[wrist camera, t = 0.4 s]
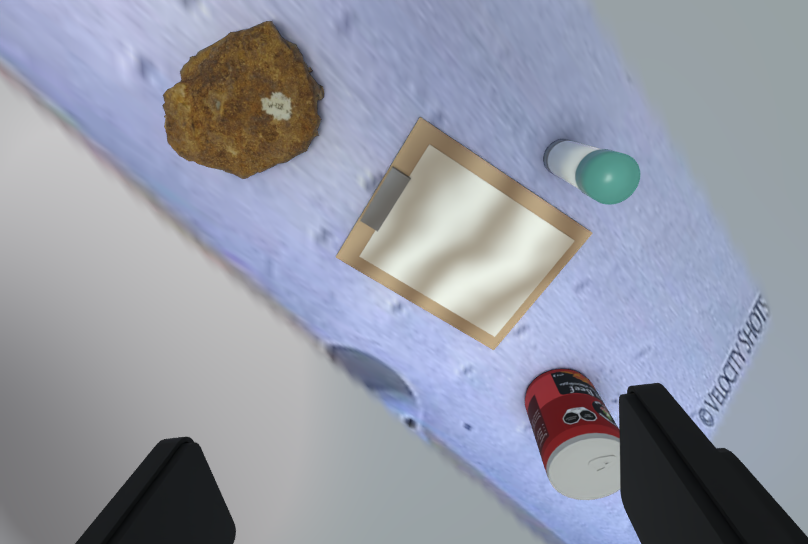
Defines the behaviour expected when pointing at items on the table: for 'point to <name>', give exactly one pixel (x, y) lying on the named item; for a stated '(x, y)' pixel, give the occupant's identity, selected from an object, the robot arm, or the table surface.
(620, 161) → the marker
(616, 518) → the table surface
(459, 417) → the table surface
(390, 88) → the table surface
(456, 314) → the clipboard
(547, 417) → the canned food
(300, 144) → the decorative rock
